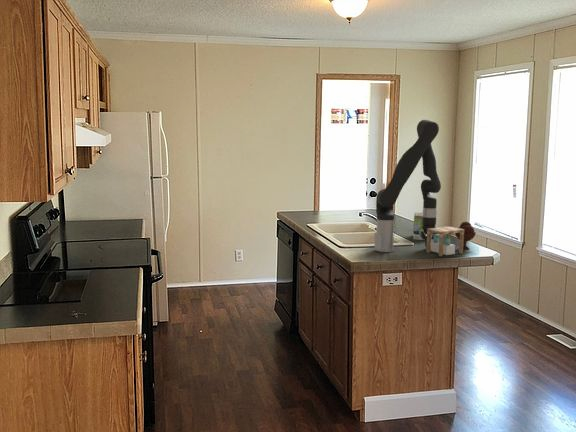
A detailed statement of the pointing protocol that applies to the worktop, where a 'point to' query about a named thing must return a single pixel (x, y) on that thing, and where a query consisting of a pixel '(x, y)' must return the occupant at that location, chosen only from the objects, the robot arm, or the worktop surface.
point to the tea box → (417, 226)
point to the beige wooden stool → (443, 231)
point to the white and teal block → (447, 247)
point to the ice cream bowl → (466, 233)
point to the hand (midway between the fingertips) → (427, 247)
